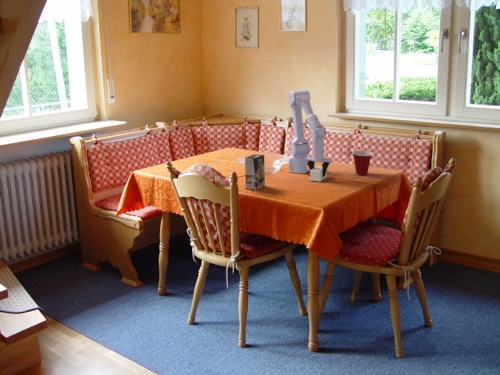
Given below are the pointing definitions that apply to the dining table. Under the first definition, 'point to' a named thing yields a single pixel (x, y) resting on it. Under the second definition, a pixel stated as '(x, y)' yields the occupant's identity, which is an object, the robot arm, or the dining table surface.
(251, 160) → the coffee box
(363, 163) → the plastic cup
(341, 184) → the dining table surface
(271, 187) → the dining table surface
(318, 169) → the cream rectangular prism
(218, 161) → the dining table surface
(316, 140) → the robot arm
